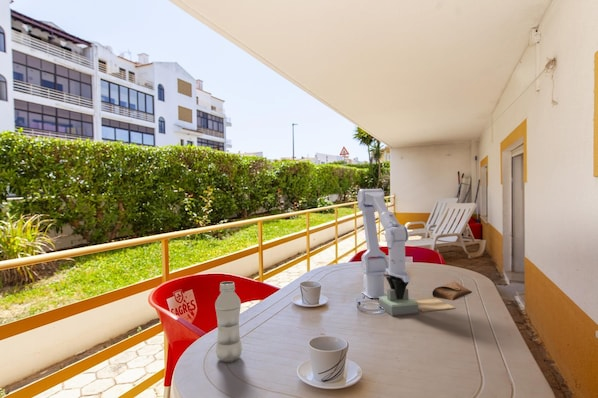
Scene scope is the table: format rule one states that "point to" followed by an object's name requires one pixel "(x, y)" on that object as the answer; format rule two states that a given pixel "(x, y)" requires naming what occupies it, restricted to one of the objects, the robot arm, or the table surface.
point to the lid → (395, 302)
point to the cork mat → (432, 304)
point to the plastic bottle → (228, 323)
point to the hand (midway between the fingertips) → (397, 297)
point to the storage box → (399, 309)
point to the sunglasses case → (450, 291)
